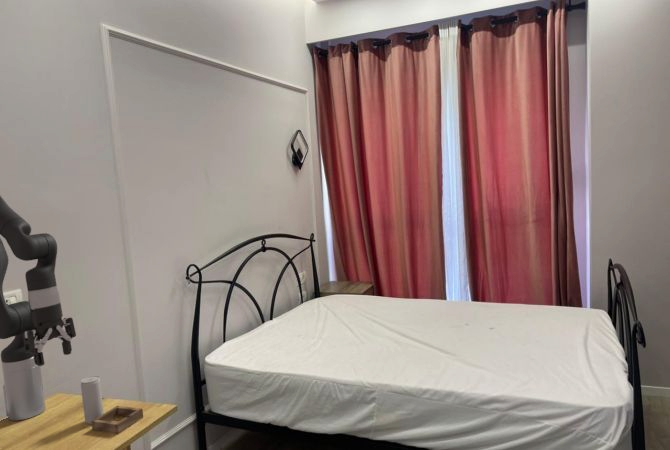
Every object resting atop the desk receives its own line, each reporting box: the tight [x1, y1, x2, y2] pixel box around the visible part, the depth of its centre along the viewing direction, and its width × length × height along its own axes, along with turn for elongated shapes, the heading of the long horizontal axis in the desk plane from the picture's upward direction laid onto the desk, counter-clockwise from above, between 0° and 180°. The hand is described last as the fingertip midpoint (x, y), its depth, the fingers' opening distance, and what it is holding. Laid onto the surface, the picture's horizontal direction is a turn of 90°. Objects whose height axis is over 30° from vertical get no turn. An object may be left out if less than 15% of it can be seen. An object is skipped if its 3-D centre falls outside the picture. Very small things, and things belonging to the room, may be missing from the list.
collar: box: [91, 405, 144, 435], centre depth 128 cm, size 9×9×3 cm
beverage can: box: [80, 375, 104, 425], centre depth 130 cm, size 5×5×12 cm
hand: (54, 359), depth 132 cm, fingers open, 8 cm apart
